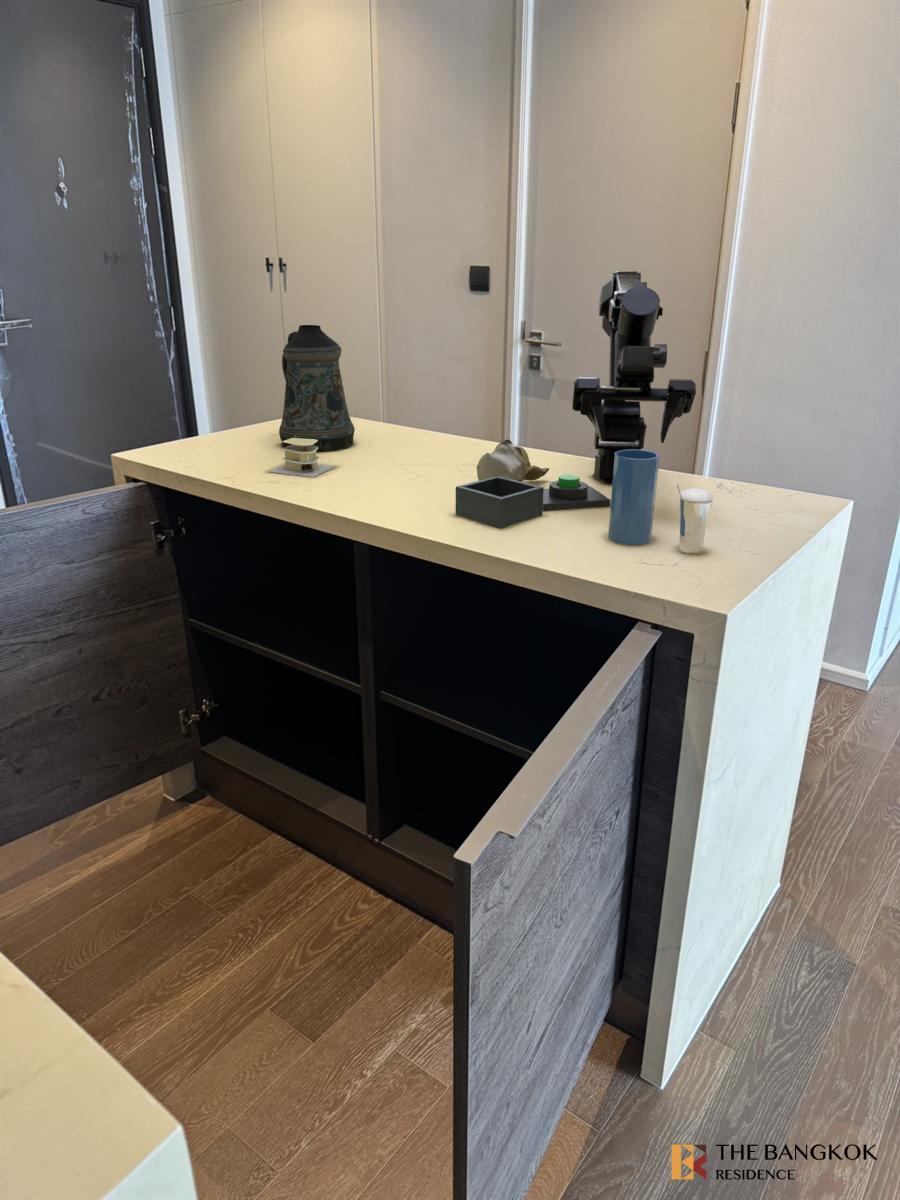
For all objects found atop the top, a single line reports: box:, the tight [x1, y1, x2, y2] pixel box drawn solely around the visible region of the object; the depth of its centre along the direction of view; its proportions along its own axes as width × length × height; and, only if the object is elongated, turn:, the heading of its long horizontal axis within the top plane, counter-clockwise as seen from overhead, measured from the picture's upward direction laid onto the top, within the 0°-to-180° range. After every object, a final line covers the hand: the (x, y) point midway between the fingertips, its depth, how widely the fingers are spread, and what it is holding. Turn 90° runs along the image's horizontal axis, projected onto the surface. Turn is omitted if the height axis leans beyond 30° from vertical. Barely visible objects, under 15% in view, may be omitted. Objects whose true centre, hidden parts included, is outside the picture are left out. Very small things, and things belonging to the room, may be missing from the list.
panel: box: [542, 479, 611, 512], centre depth 149 cm, size 12×9×3 cm
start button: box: [558, 474, 581, 488], centre depth 149 cm, size 4×4×2 cm
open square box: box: [455, 476, 545, 529], centre depth 141 cm, size 10×10×5 cm
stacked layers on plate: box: [269, 438, 337, 478], centre depth 169 cm, size 10×9×6 cm
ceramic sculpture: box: [476, 439, 550, 482], centre depth 158 cm, size 11×9×15 cm
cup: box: [608, 449, 660, 546], centre depth 129 cm, size 6×6×13 cm
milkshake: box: [676, 483, 714, 555], centre depth 125 cm, size 4×5×10 cm
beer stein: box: [278, 324, 356, 453], centre depth 187 cm, size 16×19×25 cm
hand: (632, 440), depth 134 cm, fingers open, 9 cm apart
